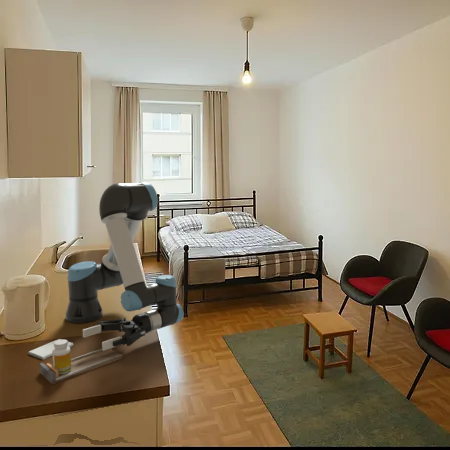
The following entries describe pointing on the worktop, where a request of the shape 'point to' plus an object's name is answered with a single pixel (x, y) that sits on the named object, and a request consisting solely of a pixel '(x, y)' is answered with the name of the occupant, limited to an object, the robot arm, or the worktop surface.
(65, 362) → the supplement bottle
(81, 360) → the rail board
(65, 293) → the worktop surface
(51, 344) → the external hard drive
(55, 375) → the latch plate
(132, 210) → the robot arm
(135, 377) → the worktop surface
